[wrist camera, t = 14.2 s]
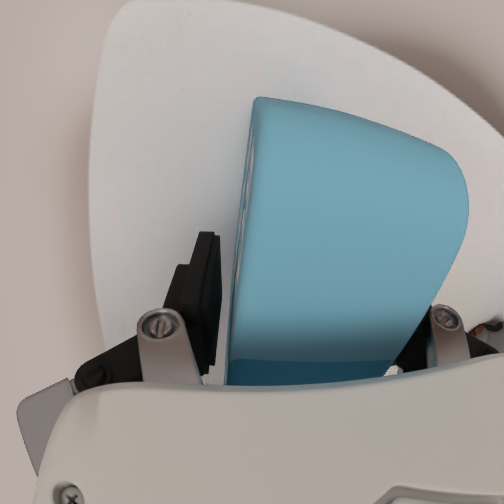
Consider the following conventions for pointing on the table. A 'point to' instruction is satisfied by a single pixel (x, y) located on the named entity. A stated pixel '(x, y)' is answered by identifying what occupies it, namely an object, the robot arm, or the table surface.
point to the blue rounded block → (336, 245)
